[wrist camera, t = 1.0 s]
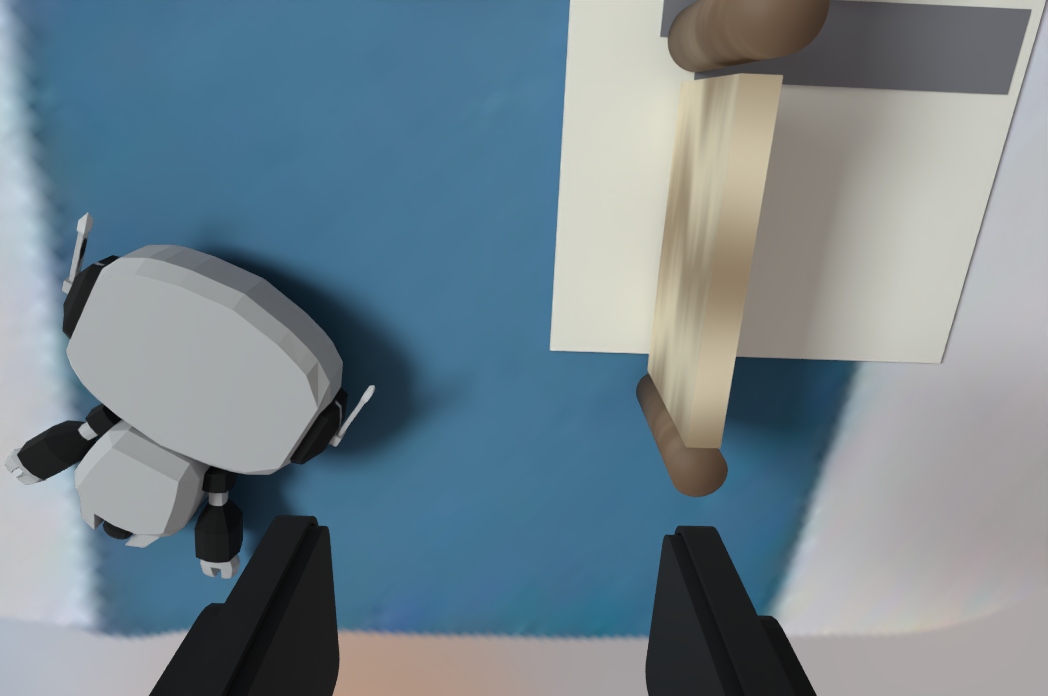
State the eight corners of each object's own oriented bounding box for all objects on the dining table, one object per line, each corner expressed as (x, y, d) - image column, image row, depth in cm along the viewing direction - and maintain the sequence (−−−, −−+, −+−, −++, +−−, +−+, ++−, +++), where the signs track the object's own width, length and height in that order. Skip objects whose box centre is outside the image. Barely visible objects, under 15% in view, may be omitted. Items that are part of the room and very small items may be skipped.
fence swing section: (670, 81, 25) (727, 72, 18) (722, 84, 25) (797, 75, 18) (634, 409, 30) (667, 496, 23) (677, 411, 30) (723, 497, 23)
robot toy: (260, 549, 34) (403, 341, 29) (221, 617, 30) (379, 388, 25) (35, 433, 32) (147, 181, 26) (-42, 489, 27) (73, 203, 22)
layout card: (600, -516, 19) (601, -527, 19) (1177, -476, 20) (1189, -487, 19) (549, 348, 29) (550, 351, 29) (936, 360, 30) (941, 364, 29)
